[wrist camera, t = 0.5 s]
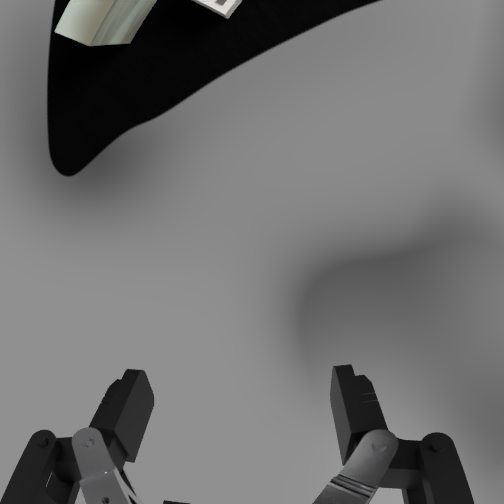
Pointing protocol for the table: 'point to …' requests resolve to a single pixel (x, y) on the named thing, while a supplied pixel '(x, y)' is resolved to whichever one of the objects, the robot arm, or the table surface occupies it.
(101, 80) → the table surface
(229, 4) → the letter cube
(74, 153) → the table surface
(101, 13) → the pale green rectangular block
